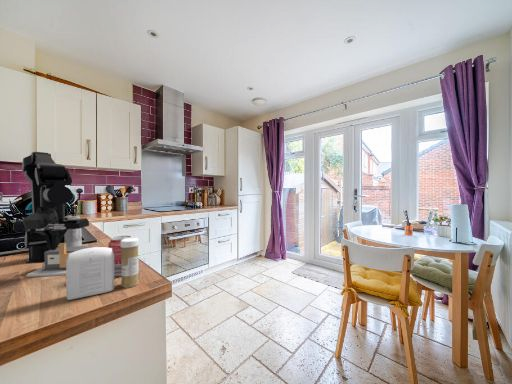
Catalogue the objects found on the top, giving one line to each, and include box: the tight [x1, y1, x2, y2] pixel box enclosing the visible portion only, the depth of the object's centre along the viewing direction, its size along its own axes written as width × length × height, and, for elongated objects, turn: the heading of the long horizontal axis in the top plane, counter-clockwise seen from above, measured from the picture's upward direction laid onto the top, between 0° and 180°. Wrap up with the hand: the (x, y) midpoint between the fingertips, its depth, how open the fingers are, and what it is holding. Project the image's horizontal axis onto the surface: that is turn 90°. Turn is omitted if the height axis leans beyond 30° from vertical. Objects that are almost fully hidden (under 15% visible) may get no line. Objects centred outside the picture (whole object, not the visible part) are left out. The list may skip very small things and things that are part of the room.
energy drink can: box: [63, 215, 83, 247], centre depth 98 cm, size 6×6×15 cm
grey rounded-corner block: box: [65, 246, 115, 301], centre depth 57 cm, size 10×4×12 cm, turn 123°
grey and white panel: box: [26, 245, 92, 278], centre depth 76 cm, size 18×13×7 cm
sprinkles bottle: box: [120, 237, 140, 289], centre depth 62 cm, size 5×5×14 cm
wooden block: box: [58, 242, 70, 268], centre depth 72 cm, size 5×1×8 cm, turn 98°
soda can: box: [107, 235, 132, 278], centre depth 71 cm, size 7×7×12 cm
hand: (53, 249), depth 71 cm, fingers closed
